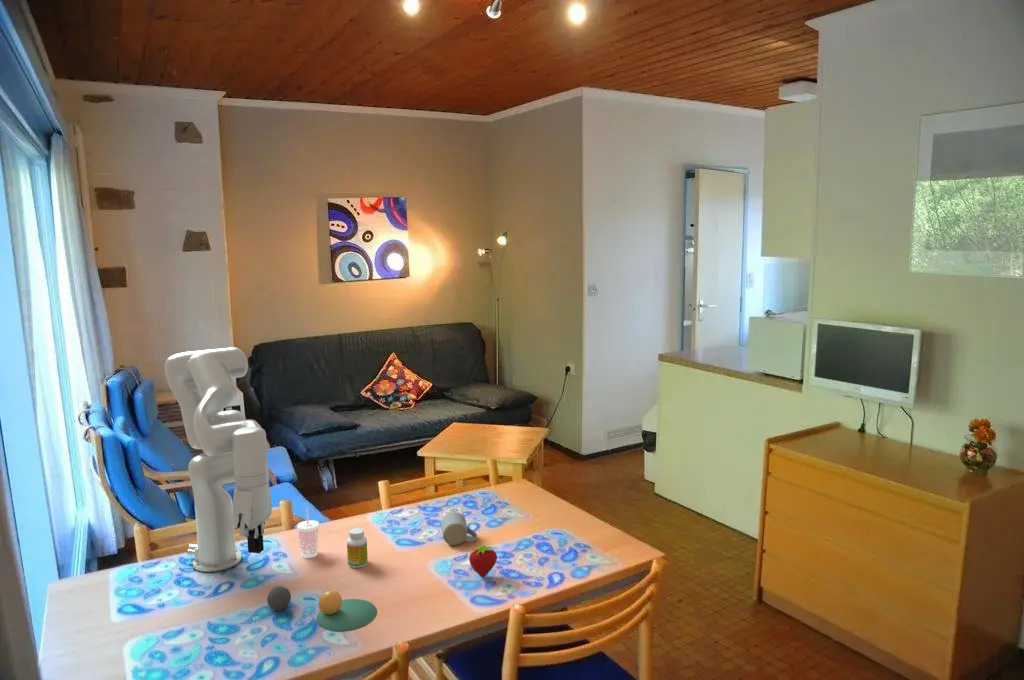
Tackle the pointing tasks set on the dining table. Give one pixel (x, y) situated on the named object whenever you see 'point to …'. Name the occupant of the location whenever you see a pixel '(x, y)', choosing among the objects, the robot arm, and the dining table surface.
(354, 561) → the supplement bottle
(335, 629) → the green ellipsoid
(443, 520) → the ceramic mug
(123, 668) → the dining table surface
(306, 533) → the beverage cup
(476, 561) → the strawberry
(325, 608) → the orange ball
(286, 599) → the charcoal cue ball
